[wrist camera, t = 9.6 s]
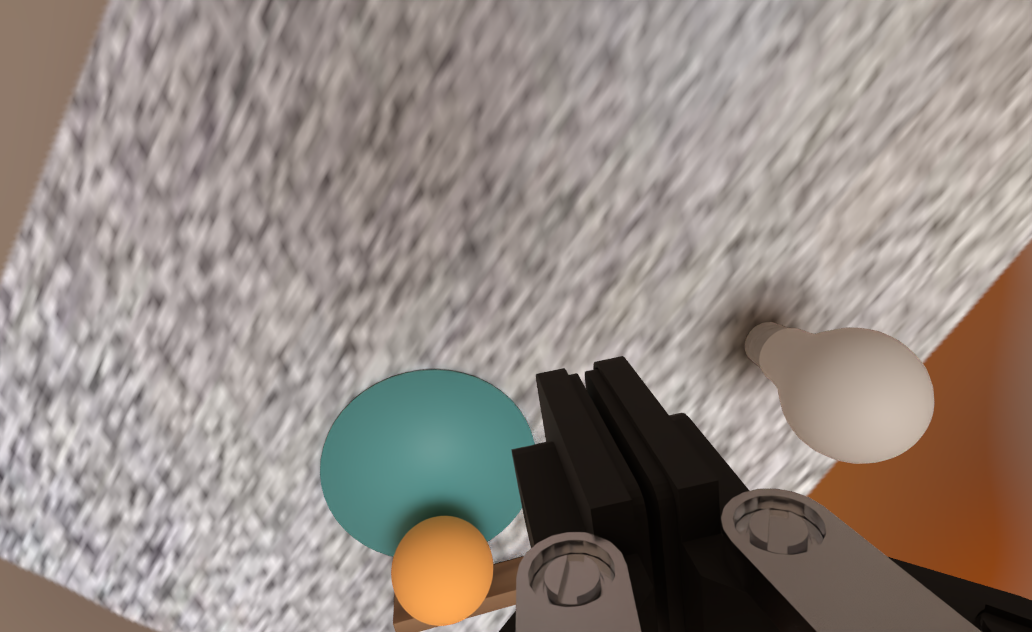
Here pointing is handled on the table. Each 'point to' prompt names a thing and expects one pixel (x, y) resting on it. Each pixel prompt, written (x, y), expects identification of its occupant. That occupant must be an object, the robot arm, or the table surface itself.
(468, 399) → the disc
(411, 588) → the ball
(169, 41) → the table surface
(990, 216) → the table surface
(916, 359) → the lightbulb
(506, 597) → the stopper strip
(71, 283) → the table surface
